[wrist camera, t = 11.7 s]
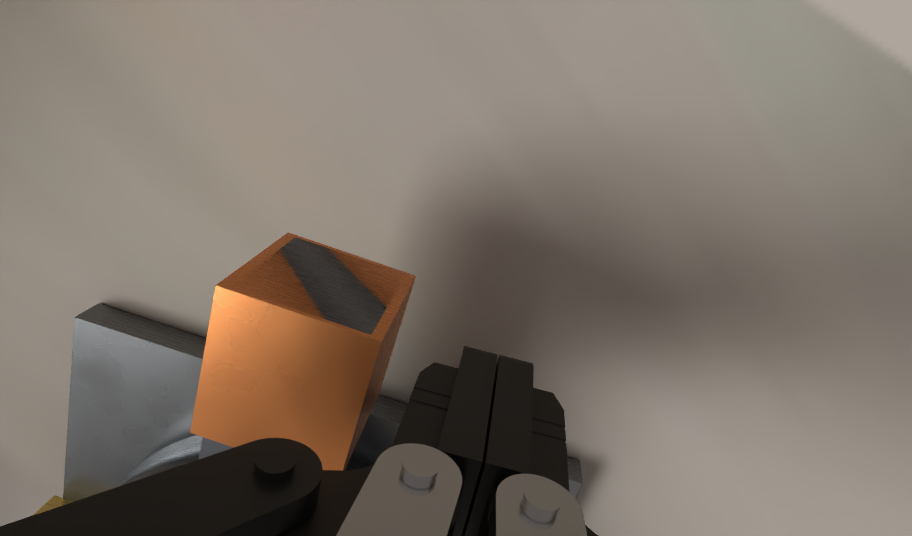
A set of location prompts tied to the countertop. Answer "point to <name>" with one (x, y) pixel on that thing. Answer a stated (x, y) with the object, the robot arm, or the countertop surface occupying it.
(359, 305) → the rotary lever handle
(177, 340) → the housing
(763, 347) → the countertop surface
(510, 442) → the robot arm
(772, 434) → the countertop surface
